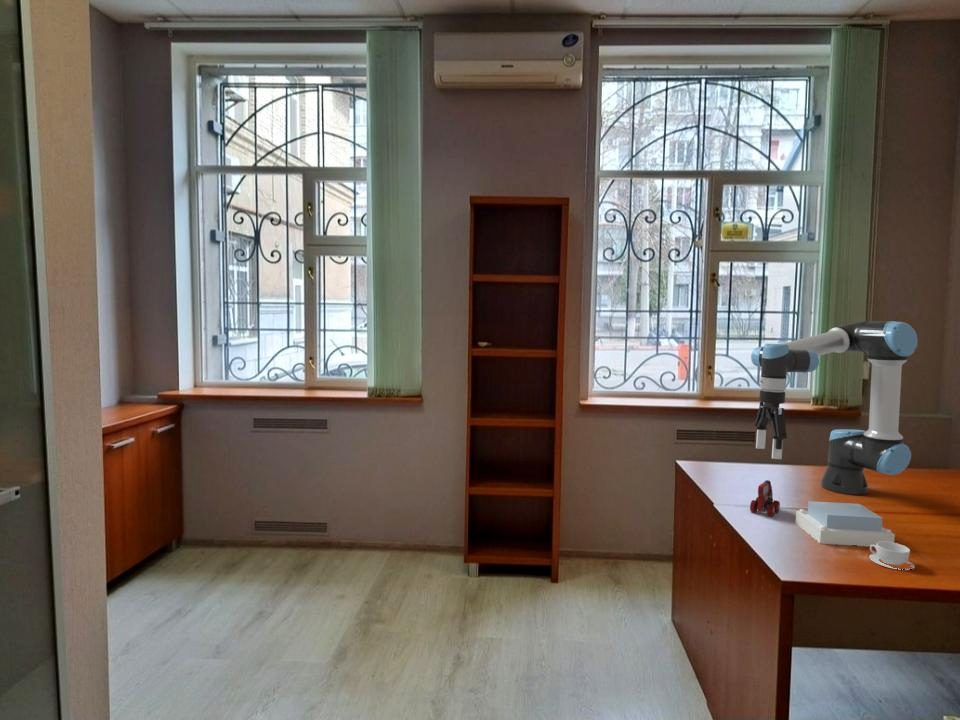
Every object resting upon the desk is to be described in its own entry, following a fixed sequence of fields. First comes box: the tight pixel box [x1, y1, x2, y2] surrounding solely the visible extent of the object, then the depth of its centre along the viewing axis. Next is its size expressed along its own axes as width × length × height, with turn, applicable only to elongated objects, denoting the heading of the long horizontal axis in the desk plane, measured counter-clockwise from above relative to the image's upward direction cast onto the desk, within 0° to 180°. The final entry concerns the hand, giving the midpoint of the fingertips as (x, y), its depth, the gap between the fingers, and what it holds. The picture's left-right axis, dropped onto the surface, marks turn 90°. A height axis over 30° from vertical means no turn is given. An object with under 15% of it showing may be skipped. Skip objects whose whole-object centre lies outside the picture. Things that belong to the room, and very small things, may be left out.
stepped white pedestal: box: [795, 500, 896, 547], centre depth 170 cm, size 20×16×8 cm
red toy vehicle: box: [749, 479, 781, 518], centre depth 188 cm, size 7×12×10 cm, turn 137°
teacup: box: [868, 541, 916, 571], centre depth 151 cm, size 10×10×5 cm
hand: (768, 453), depth 187 cm, fingers open, 13 cm apart
